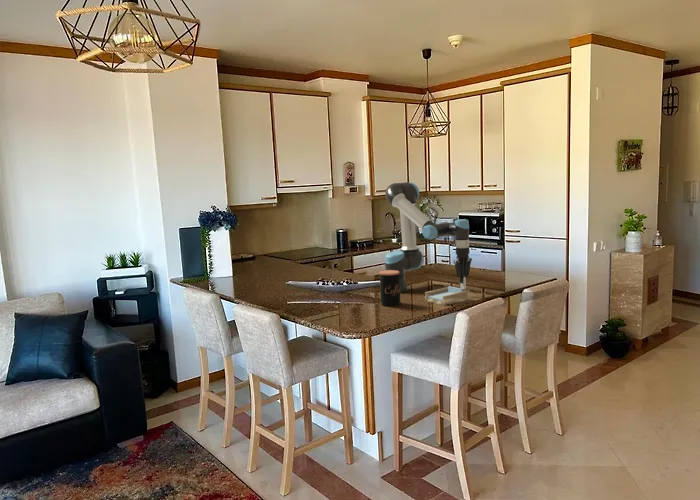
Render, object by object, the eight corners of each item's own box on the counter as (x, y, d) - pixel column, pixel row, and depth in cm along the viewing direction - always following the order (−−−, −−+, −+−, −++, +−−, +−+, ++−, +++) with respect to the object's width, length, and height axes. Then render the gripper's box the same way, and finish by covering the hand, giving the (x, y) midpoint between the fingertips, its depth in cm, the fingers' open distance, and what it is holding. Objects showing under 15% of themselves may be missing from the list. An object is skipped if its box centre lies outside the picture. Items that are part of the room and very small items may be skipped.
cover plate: (427, 297, 295) (427, 290, 294) (449, 292, 304) (449, 285, 304) (442, 301, 285) (442, 294, 285) (464, 296, 295) (464, 289, 295)
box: (425, 301, 296) (425, 292, 295) (448, 295, 306) (448, 287, 305) (444, 305, 284) (443, 296, 284) (467, 299, 295) (467, 291, 294)
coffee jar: (384, 307, 286) (383, 274, 283) (378, 303, 296) (377, 271, 293) (403, 305, 289) (402, 272, 286) (396, 301, 299) (395, 269, 296)
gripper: (459, 249, 292) (460, 291, 295) (475, 246, 300) (476, 287, 303) (449, 247, 298) (450, 289, 301) (465, 245, 306) (466, 285, 309)
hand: (463, 288), depth 302 cm, fingers closed
